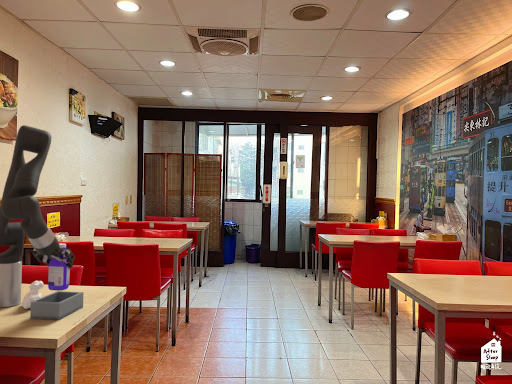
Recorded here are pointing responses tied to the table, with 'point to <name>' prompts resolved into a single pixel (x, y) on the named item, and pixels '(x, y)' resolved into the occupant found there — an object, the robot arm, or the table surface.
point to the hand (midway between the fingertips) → (61, 266)
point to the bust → (32, 294)
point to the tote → (56, 305)
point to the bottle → (58, 273)
